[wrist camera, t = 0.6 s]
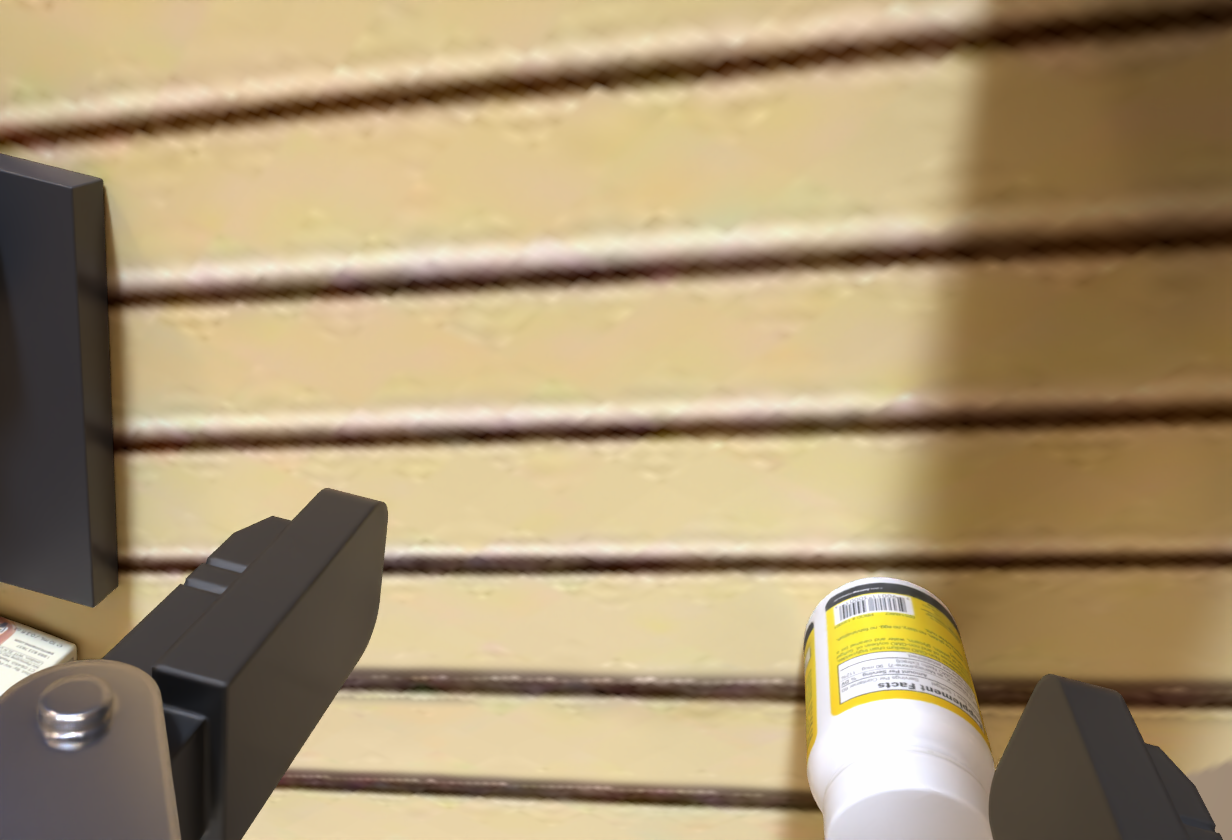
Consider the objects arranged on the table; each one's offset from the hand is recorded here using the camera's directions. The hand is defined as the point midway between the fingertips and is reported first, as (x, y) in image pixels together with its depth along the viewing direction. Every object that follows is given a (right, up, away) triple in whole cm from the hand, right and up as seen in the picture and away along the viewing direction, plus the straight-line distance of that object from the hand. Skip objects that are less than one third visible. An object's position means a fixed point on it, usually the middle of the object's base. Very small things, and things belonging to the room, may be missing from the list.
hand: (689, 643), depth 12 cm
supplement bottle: (+7, -4, +19) cm, 21 cm away
